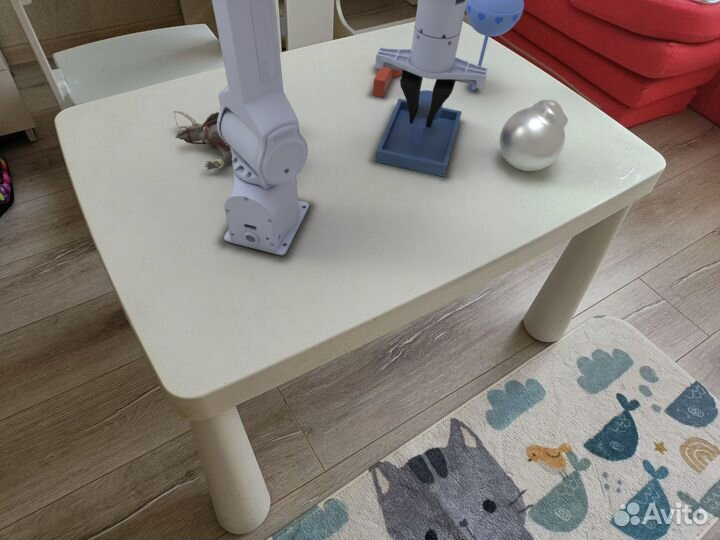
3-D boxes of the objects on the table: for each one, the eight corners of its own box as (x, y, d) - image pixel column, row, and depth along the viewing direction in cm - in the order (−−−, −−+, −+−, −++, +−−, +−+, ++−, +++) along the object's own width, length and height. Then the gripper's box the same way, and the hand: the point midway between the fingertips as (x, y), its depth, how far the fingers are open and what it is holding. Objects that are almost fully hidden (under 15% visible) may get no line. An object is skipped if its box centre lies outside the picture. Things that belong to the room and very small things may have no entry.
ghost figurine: (565, 182, 75) (593, 123, 67) (503, 185, 74) (524, 125, 66) (543, 143, 81) (566, 85, 73) (484, 146, 79) (502, 86, 72)
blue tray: (444, 177, 74) (446, 166, 73) (375, 161, 75) (376, 150, 74) (459, 122, 83) (461, 111, 81) (397, 109, 84) (398, 98, 83)
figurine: (146, 137, 68) (186, 71, 78) (159, 174, 72) (196, 107, 83) (297, 145, 66) (317, 77, 77) (301, 182, 71) (319, 113, 82)
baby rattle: (494, 106, 86) (528, -6, 72) (444, 95, 88) (467, -18, 74) (501, 81, 92) (534, -29, 78) (454, 70, 93) (477, -39, 79)
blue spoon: (430, 148, 73) (433, 130, 71) (399, 141, 74) (402, 123, 71) (442, 107, 80) (446, 90, 77) (415, 101, 80) (417, 84, 78)
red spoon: (390, 99, 86) (392, 82, 84) (365, 93, 87) (366, 77, 84) (404, 67, 93) (406, 51, 90) (380, 62, 93) (382, 46, 91)
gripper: (499, 23, 65) (475, 116, 76) (388, 3, 67) (379, 96, 78) (493, 50, 61) (468, 144, 71) (374, 27, 63) (367, 123, 73)
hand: (421, 121), depth 74 cm, fingers closed on blue spoon, 2 cm apart
